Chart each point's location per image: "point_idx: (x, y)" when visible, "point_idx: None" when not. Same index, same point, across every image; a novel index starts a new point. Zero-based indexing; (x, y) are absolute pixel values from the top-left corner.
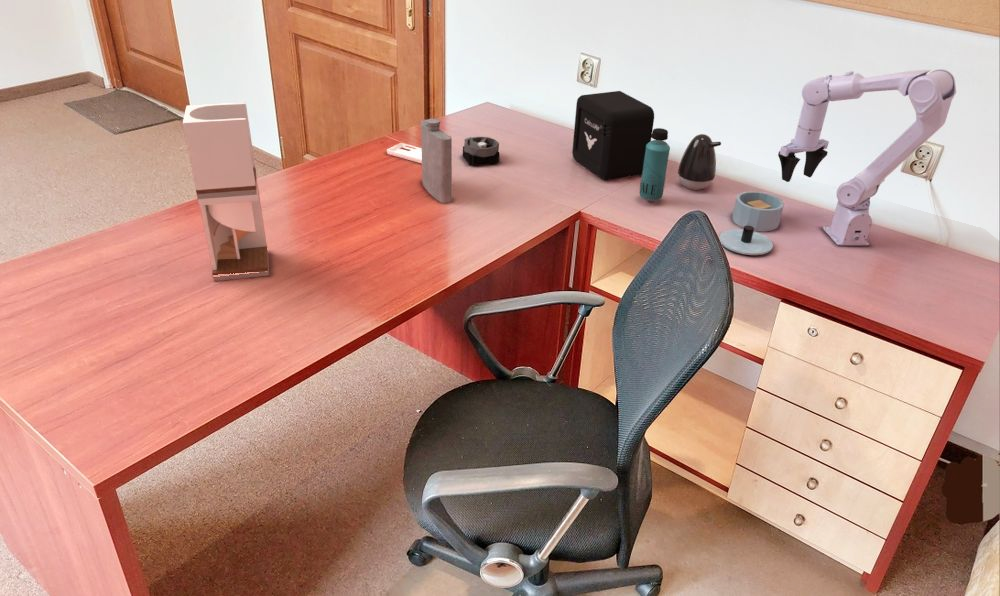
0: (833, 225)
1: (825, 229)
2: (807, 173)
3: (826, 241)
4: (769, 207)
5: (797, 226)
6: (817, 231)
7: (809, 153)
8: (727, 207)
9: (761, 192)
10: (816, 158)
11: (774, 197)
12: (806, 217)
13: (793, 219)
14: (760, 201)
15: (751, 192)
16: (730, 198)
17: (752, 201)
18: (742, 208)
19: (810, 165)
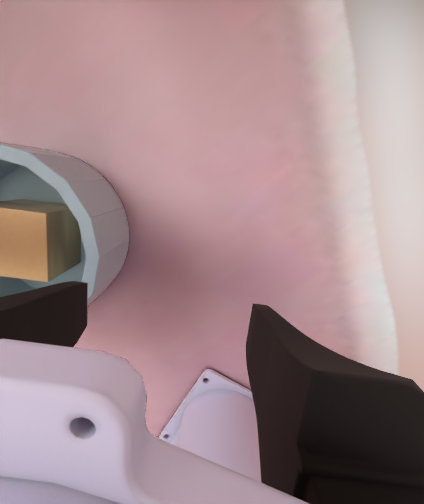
0: (182, 430)
1: (198, 384)
2: (251, 335)
3: (152, 411)
4: (36, 280)
5: (154, 320)
6: (180, 368)
7: (288, 408)
8: (40, 93)
9: (65, 192)
10: (264, 475)
11: (87, 256)
12: (234, 296)
13: (183, 284)
14: (36, 227)
15: (21, 165)
16: (110, 31)
17: (3, 210)
18: None
19: (261, 375)
